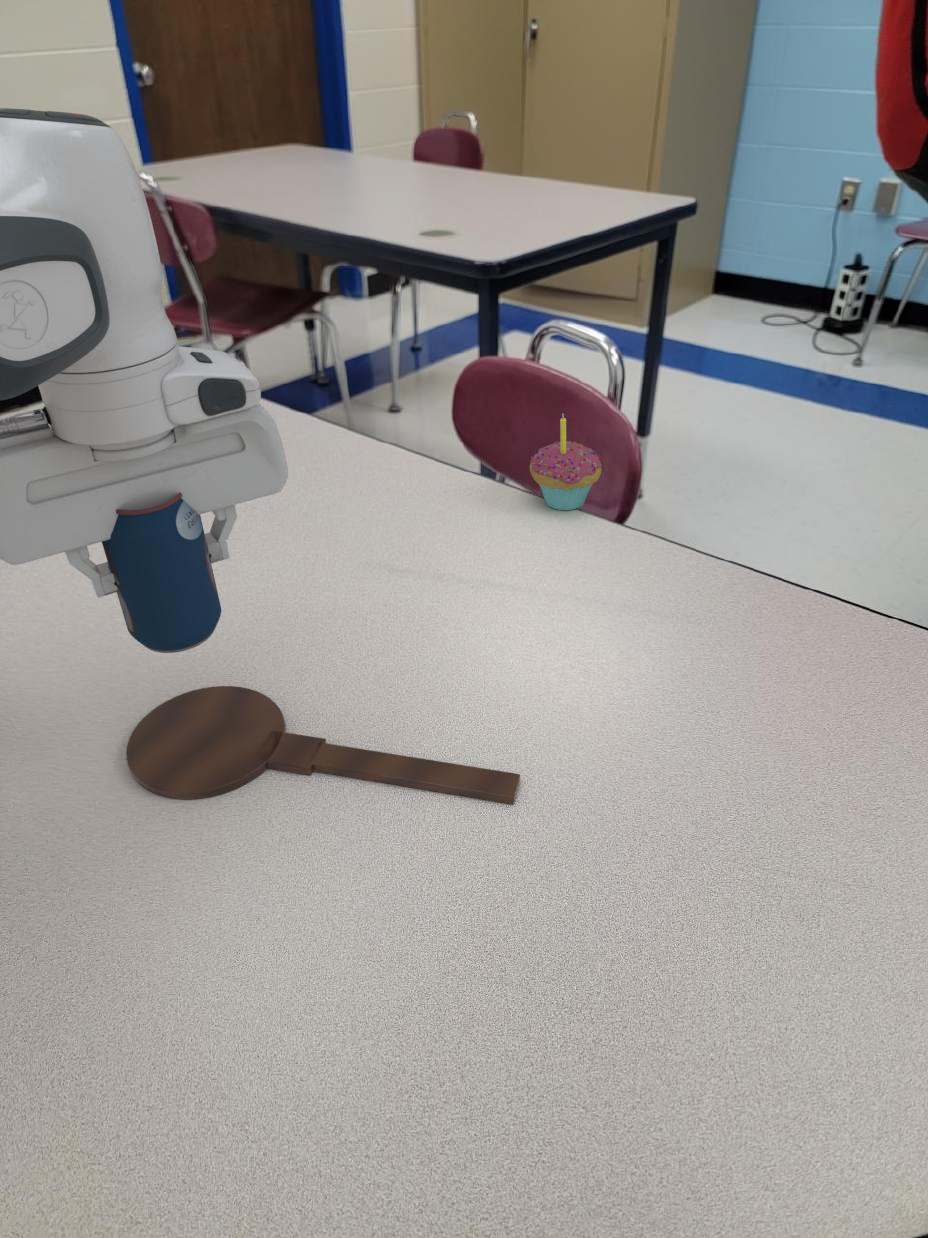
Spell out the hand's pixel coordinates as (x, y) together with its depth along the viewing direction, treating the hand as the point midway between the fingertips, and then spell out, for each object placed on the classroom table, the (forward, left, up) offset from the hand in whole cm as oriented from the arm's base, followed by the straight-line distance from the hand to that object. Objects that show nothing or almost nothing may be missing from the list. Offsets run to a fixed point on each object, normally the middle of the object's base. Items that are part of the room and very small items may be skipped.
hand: (163, 574), depth 66 cm
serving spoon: (+7, -7, -17) cm, 20 cm away
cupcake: (+50, +18, -17) cm, 56 cm away
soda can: (0, 0, -5) cm, 5 cm away
